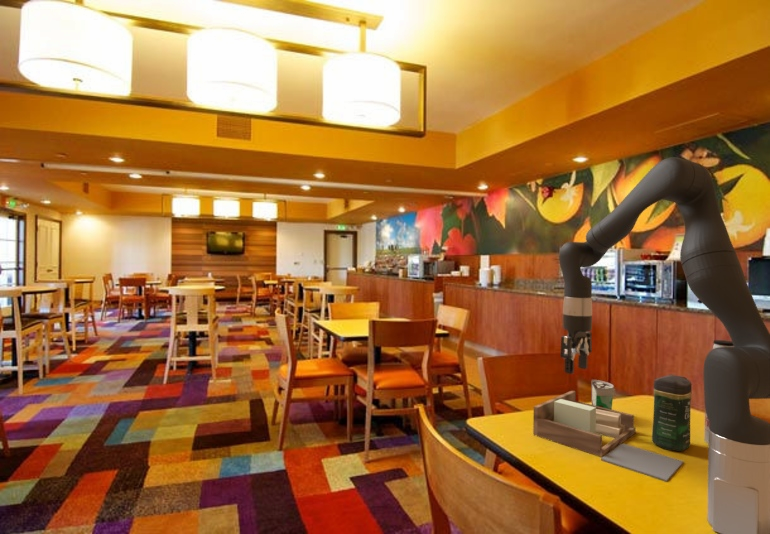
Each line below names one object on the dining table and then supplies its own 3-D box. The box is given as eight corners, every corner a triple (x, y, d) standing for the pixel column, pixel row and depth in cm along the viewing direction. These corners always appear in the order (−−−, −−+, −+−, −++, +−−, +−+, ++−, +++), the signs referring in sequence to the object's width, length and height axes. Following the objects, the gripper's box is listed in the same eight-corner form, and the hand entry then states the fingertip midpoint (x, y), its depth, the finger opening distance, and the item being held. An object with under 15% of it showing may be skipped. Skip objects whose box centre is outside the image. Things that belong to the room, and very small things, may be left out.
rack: (602, 457, 108) (602, 425, 108) (533, 434, 122) (533, 406, 122) (635, 432, 124) (636, 405, 124) (571, 415, 138) (571, 390, 138)
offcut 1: (618, 428, 120) (618, 417, 120) (591, 422, 125) (591, 412, 125) (620, 424, 123) (620, 413, 123) (594, 418, 128) (594, 408, 128)
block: (589, 443, 116) (590, 410, 116) (553, 432, 123) (554, 401, 123) (595, 440, 119) (596, 407, 119) (560, 429, 126) (560, 398, 126)
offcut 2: (618, 440, 119) (618, 429, 119) (588, 432, 125) (588, 422, 125) (624, 435, 123) (624, 425, 123) (595, 428, 128) (595, 418, 128)
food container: (618, 423, 131) (619, 391, 131) (596, 421, 133) (596, 388, 133) (611, 410, 143) (612, 380, 143) (591, 408, 145) (591, 379, 145)
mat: (666, 481, 96) (666, 479, 96) (600, 460, 106) (600, 458, 106) (683, 462, 105) (683, 461, 105) (621, 444, 116) (621, 443, 116)
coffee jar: (682, 455, 110) (683, 382, 110) (648, 444, 116) (649, 376, 116) (694, 445, 116) (696, 376, 116) (661, 436, 122) (662, 370, 122)
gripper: (579, 316, 113) (578, 377, 114) (601, 312, 123) (600, 369, 123) (552, 313, 119) (551, 372, 119) (575, 310, 128) (574, 364, 129)
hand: (576, 370), depth 121 cm, fingers open, 8 cm apart
